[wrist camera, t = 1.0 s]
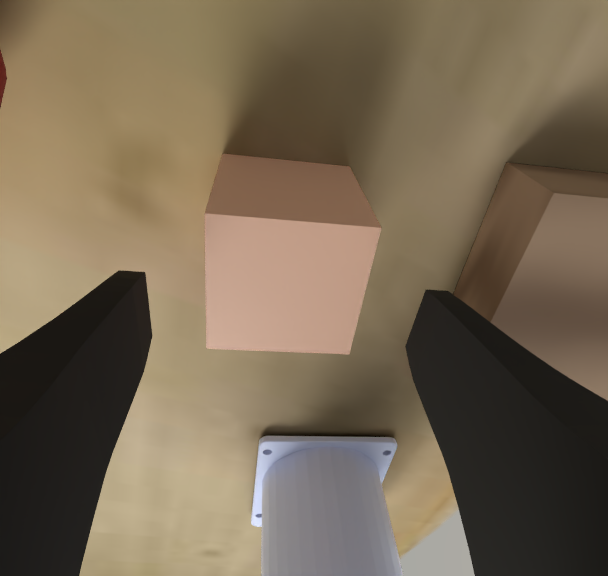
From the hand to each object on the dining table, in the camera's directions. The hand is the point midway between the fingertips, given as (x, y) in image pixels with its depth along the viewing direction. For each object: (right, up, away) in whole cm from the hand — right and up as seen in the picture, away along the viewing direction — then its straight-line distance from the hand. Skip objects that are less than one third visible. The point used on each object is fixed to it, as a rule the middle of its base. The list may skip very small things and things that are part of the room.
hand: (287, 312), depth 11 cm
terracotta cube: (0, +3, +5) cm, 6 cm away
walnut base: (+12, +1, +8) cm, 14 cm away
